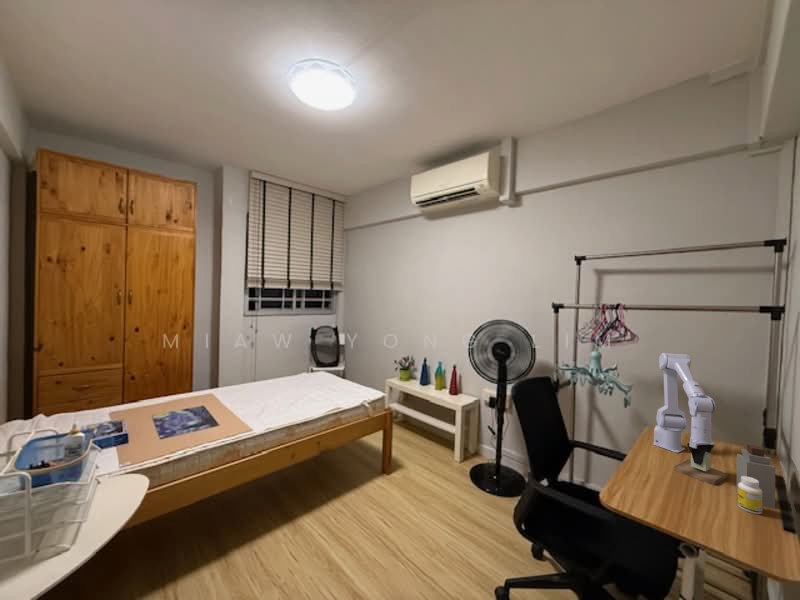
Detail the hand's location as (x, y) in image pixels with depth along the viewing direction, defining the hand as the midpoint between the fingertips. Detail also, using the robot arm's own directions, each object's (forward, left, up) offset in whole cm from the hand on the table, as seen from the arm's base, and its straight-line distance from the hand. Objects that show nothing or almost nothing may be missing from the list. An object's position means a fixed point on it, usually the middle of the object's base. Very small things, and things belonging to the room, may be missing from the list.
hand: (700, 462), depth 126 cm
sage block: (0, 0, -2) cm, 2 cm away
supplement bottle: (+17, -14, -5) cm, 22 cm away
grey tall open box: (+16, -5, -5) cm, 17 cm away
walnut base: (0, 0, -4) cm, 4 cm away
